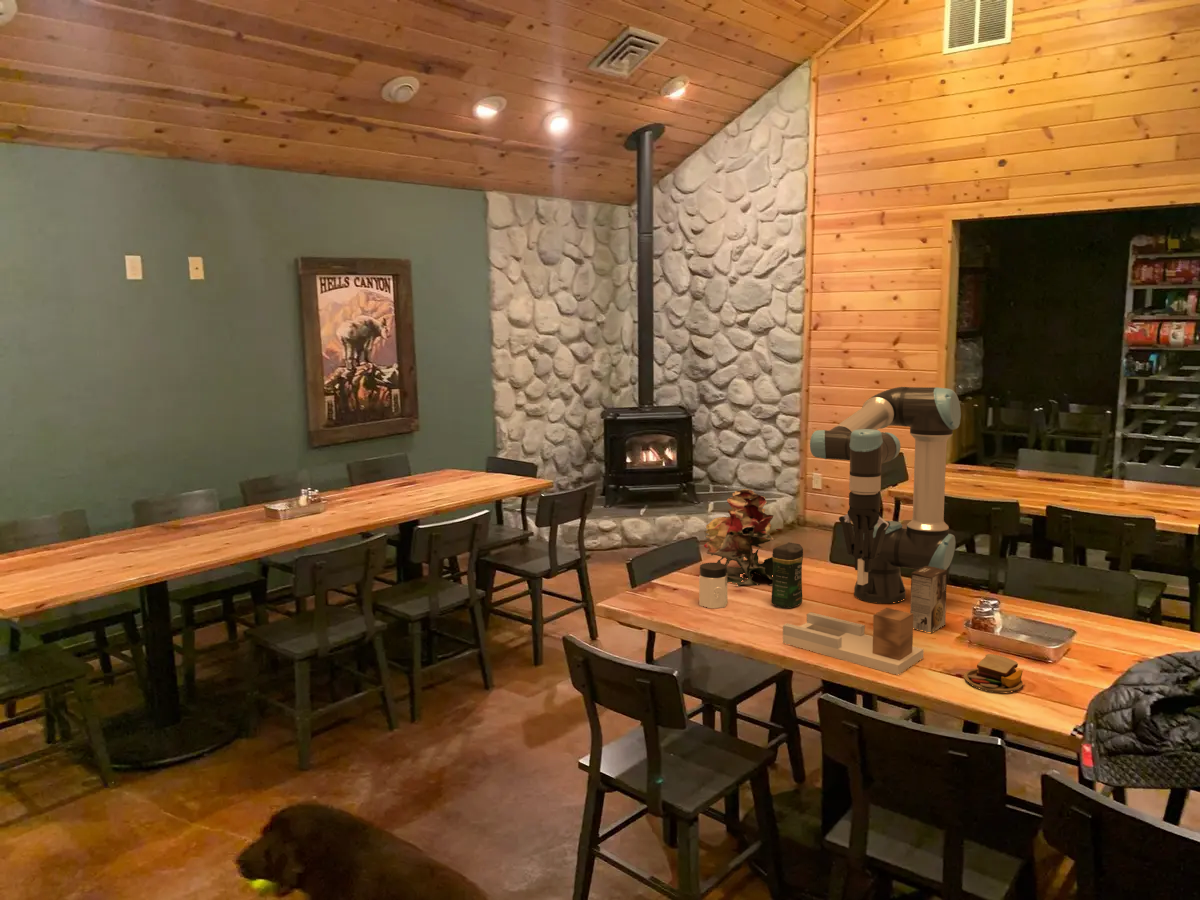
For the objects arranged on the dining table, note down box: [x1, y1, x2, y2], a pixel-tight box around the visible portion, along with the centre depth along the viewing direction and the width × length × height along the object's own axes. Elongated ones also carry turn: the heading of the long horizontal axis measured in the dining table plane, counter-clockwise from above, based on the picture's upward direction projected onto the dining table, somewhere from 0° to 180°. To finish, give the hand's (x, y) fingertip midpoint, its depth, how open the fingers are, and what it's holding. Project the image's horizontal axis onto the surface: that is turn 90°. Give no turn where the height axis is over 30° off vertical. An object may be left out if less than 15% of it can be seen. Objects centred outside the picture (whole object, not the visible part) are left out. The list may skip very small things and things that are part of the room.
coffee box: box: [909, 566, 948, 633], centre depth 238 cm, size 9×6×16 cm
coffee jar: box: [770, 542, 804, 609], centre depth 260 cm, size 10×8×19 cm
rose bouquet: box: [703, 488, 782, 587], centre depth 289 cm, size 26×29×30 cm
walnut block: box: [872, 607, 914, 661], centre depth 214 cm, size 7×7×10 cm
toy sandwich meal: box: [963, 653, 1024, 693], centre depth 202 cm, size 12×14×5 cm
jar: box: [698, 562, 728, 609], centre depth 261 cm, size 9×8×12 cm
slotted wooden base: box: [782, 612, 925, 676], centre depth 223 cm, size 32×14×5 cm, turn 46°
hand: (862, 583), depth 218 cm, fingers closed
